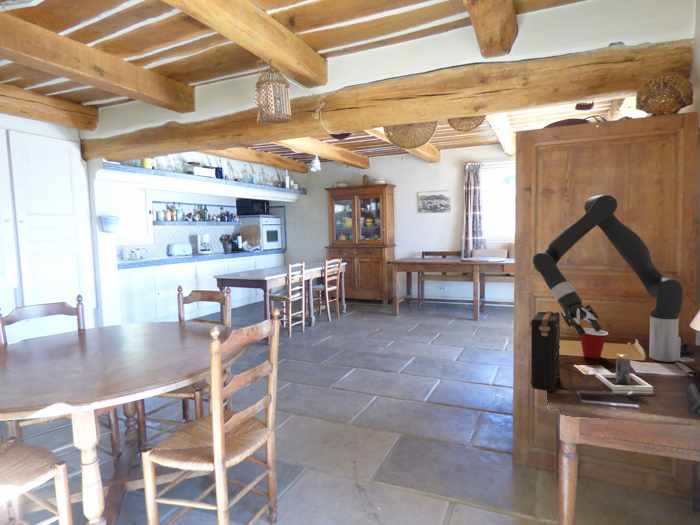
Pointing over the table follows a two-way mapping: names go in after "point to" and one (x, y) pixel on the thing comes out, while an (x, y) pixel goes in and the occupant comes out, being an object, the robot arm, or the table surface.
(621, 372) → the battery cell
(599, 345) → the plastic cup
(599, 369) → the plate
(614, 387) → the white square tray
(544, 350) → the black carrying case
